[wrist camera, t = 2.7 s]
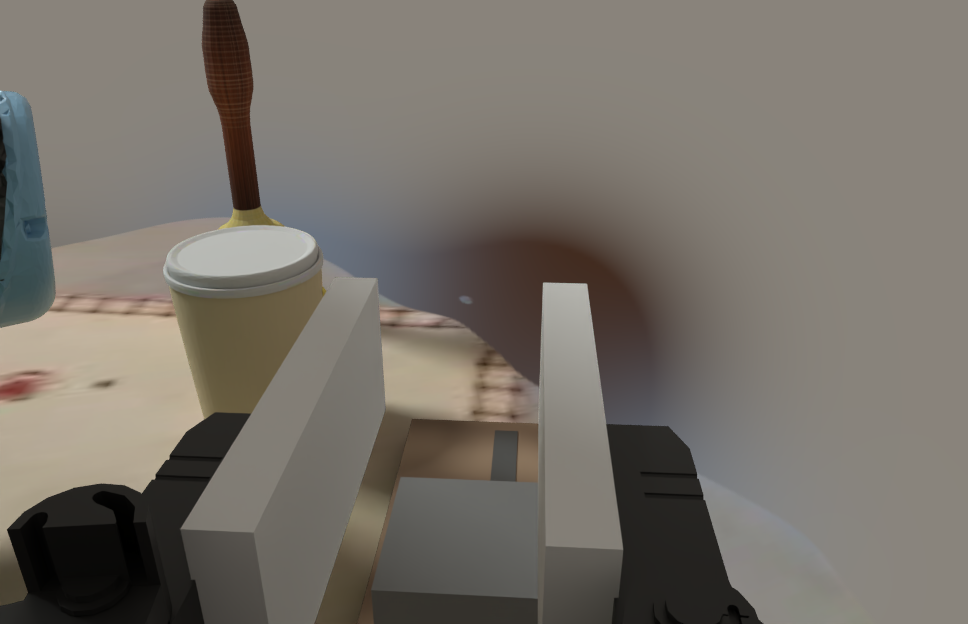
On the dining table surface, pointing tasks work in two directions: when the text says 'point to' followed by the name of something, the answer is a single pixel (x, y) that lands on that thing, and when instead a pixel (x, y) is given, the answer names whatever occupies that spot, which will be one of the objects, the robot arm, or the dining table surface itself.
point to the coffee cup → (242, 307)
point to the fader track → (461, 462)
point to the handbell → (233, 106)
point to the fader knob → (459, 554)
